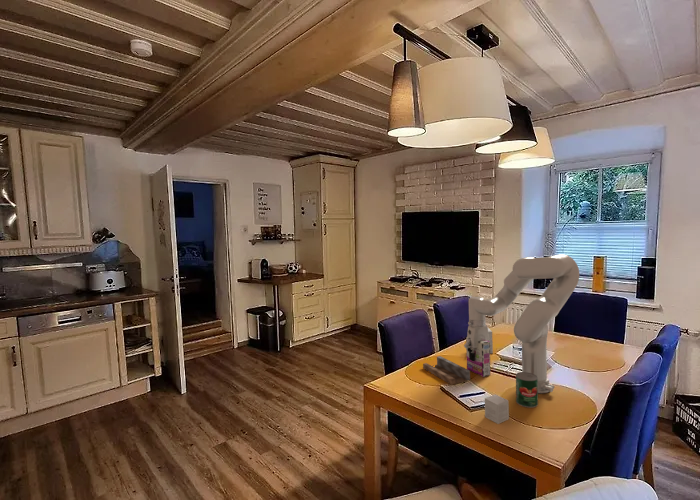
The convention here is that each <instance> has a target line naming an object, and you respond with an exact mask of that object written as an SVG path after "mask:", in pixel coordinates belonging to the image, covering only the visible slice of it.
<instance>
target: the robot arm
mask: <svg viewBox="0 0 700 500" xmlns="http://www.w3.org/2000/svg"><path fill="white" fill-rule="evenodd" d="M537 279H538V280H542V279H552V280H551V282H550V283H549V284H548V286H547V288H546V289H545V290H544V292H543V293H542V294H541V295H540V296H539V297H537V298H536V299H534V300H532V301H530V303H529V304H528V305H527V306H526V308H525V309H524V310H523V311H522V314H521V315H520V316H519V318H518V319H517V321H515V324H514V326H513V334H514V336H515V338H516V339H517V340H518V341H520V342H521V368H522V369H521V370H522V371H521V372H528V373H532V374H535V375H536V376H537V377H538V394H547V393H549V392H550V393H552V392H553V391H554V389H555V385H553V384H550V379H548V373H547V372H548V371H547V369H548V367H547V366H548V365H547V363H548V361H547V356H548V355H547V352H548V351H547V350H548V349H547V345H548V344H547V343H548V335H549V334H548V333H549V327H548V326H549V325H548V324H549V323H550V321H551V320H552V319H555V317H557V316H558V314H559V313H560V311H561V310H562V308H563V307H564V306H565V304H566V303H567V301H568V299H570V297H571V295H572V294H573V293H574V291H575V289H576V287H577V286H578V284H579V279H580V269H579V266H578V263H577V262H576V261H575V260H574V258H572V257H571V256H570V255H567V254H559V253H558V254H555V255H552V256H545V257H533V256H526V257H523V258H522V257H521V258H519V259H517V260H516V261H515V262H514V263H513V265H512V270H511V272H509V274H508V275H507V276H506V277H505V278H504V279H503V286H502V288H501V289H500V291H498V293H497V294H496V295H495V296H493V297H490V298H487V299H485V298H484V297H481V296H472V297H471V296H470V297H469V299H468V322H467V324H468V326H467V334H466V335H467V336H466V337H467V342H465V344H463V347H464V348H465V350H466V349H467V350H468V352H469V359H470V360H472V361H475V353H474V350H475V348H478V342H479V341H483V340H487V341H490V343H491V340H490V339H489V333H488V328H489V327H488V326H487V323H486V322H487V321H486V317H487V316H488V317H494V316H496V315H497V314H499V313H502V312H504V311H505V310H506V309H507V308H508V307H509V306H510V305H511V304H512V303H513V302H514V301H515V300H516V299H517V297H518V296H519V295H520V294H521V293H522V291H523V290H525V288H526V287H527V286H528V285H529V284H530V283H531V281H533V280H537ZM471 348H472V350H471Z"/></svg>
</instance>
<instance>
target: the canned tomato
mask: <svg viewBox="0 0 700 500" xmlns="http://www.w3.org/2000/svg"><path fill="white" fill-rule="evenodd" d="M538 396H539V393H538V377H537V376H536V375H535V374H532V373H528V372H522V371H520V372H516V373H515V402H516V404H518V405H519V406H521V407H525V408H532V409H533V408H537V406H538V405H539V401H538V400H539V397H538Z"/></svg>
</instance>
